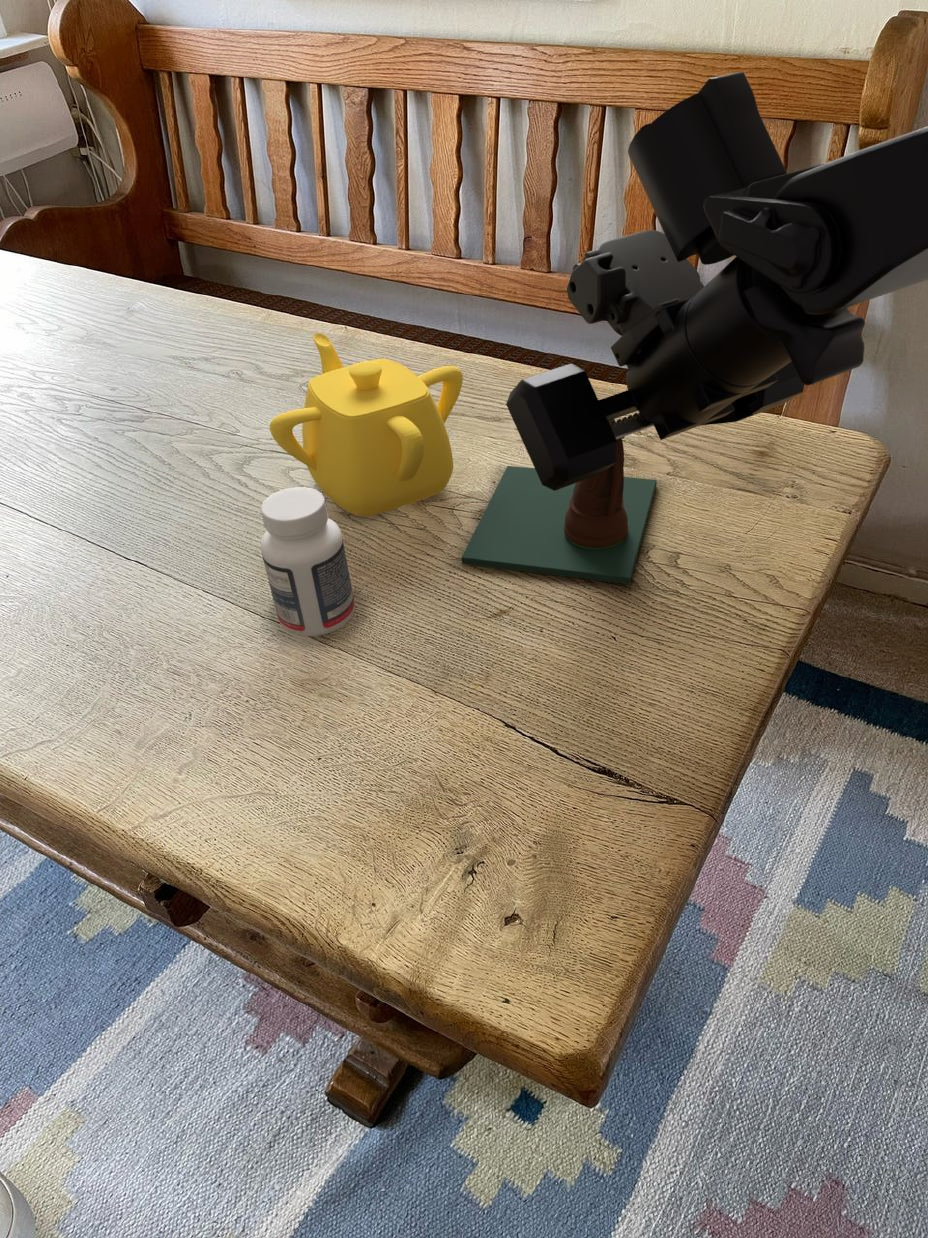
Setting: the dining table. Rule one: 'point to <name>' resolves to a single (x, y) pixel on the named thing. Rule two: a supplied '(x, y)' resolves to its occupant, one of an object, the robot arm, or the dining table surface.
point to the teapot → (372, 432)
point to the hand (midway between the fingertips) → (600, 441)
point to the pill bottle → (305, 563)
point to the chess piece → (599, 508)
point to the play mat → (552, 531)
